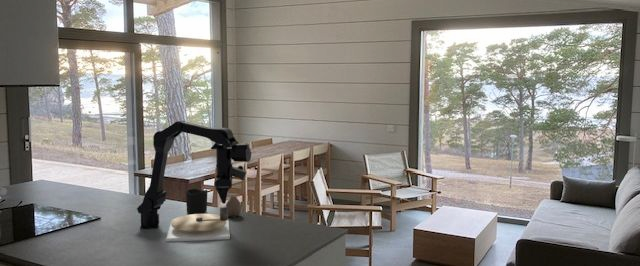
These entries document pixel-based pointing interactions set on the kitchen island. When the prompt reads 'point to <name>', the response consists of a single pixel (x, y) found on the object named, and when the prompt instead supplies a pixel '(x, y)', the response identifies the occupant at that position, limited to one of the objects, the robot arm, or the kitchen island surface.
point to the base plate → (198, 234)
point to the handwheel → (201, 221)
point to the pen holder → (196, 201)
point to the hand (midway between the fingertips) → (224, 200)
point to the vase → (233, 207)
